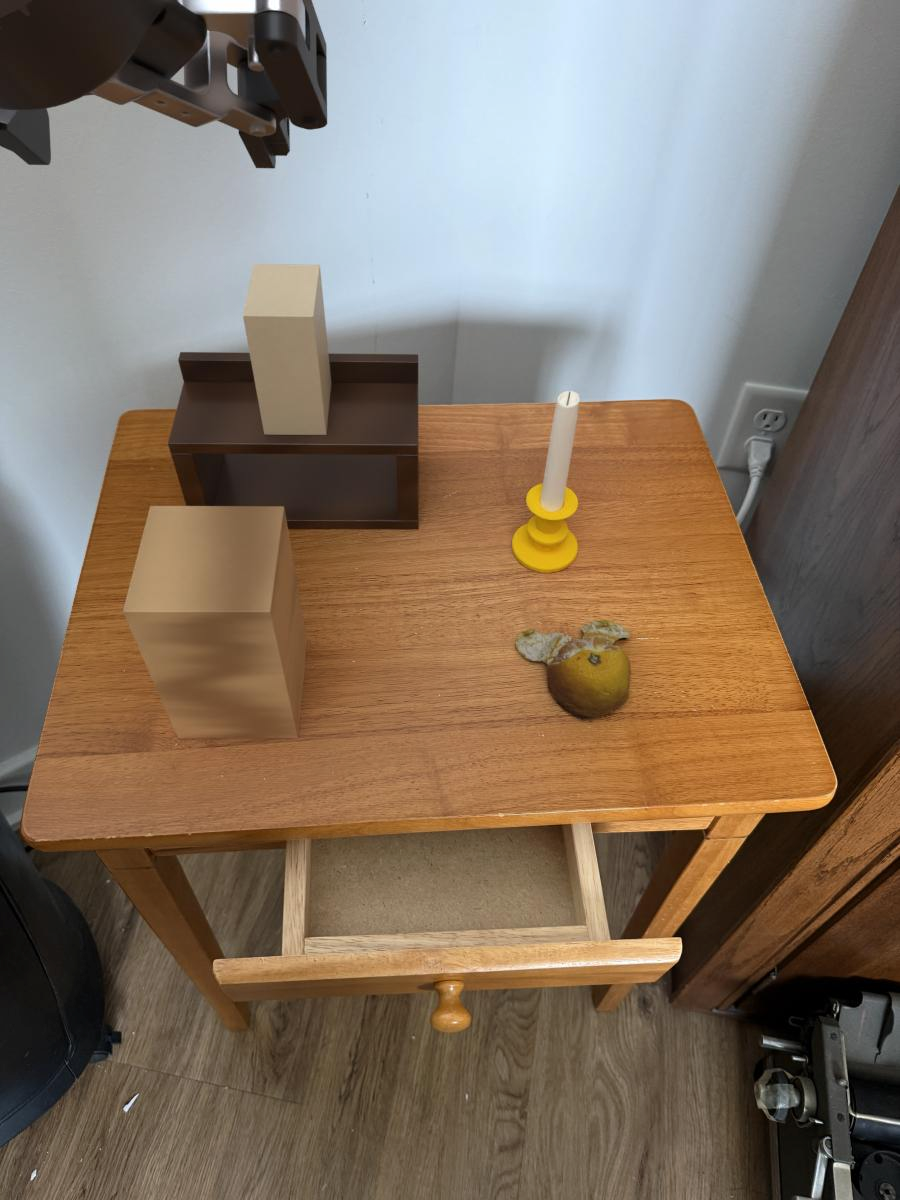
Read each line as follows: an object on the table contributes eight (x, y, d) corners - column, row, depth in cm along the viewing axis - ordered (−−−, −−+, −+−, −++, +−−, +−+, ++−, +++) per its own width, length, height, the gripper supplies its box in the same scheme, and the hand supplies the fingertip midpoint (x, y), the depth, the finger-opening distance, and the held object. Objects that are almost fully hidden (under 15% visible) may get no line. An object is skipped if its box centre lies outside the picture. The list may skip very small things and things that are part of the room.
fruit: (618, 618, 66) (627, 587, 64) (657, 712, 62) (668, 683, 59) (511, 635, 65) (515, 605, 62) (542, 733, 60) (548, 705, 57)
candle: (539, 583, 68) (565, 428, 56) (498, 541, 71) (514, 384, 59) (590, 554, 70) (626, 398, 58) (548, 515, 73) (574, 357, 61)
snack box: (264, 435, 65) (242, 315, 57) (272, 382, 68) (253, 263, 61) (326, 435, 65) (313, 316, 57) (331, 383, 69) (319, 264, 61)
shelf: (192, 528, 71) (160, 421, 62) (207, 459, 76) (180, 351, 67) (418, 529, 72) (418, 423, 63) (418, 460, 76) (418, 354, 68)
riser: (177, 739, 59) (122, 611, 48) (196, 641, 64) (149, 505, 53) (298, 738, 60) (270, 611, 49) (307, 641, 64) (284, 505, 53)
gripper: (265, -373, 18) (339, 39, 34) (-476, -400, 17) (-43, 31, 33) (273, 31, 19) (341, 245, 35) (-432, 16, 18) (-30, 240, 34)
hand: (153, 140), depth 34 cm, fingers open, 8 cm apart
